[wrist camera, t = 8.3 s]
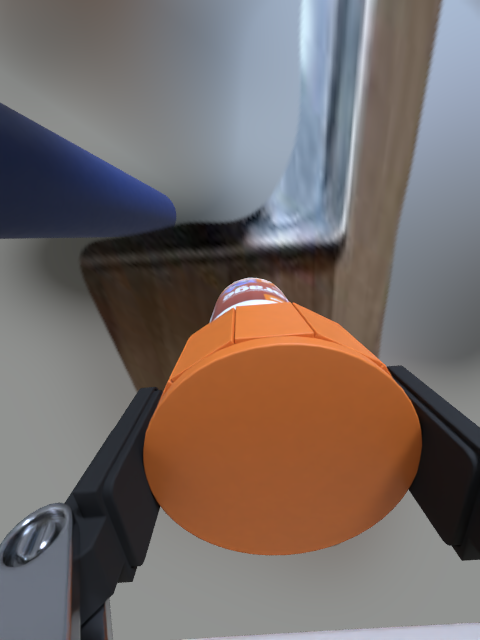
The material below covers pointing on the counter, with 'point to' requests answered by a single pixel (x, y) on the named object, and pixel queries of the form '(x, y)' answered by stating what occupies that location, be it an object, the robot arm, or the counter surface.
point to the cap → (280, 434)
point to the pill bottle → (247, 295)
